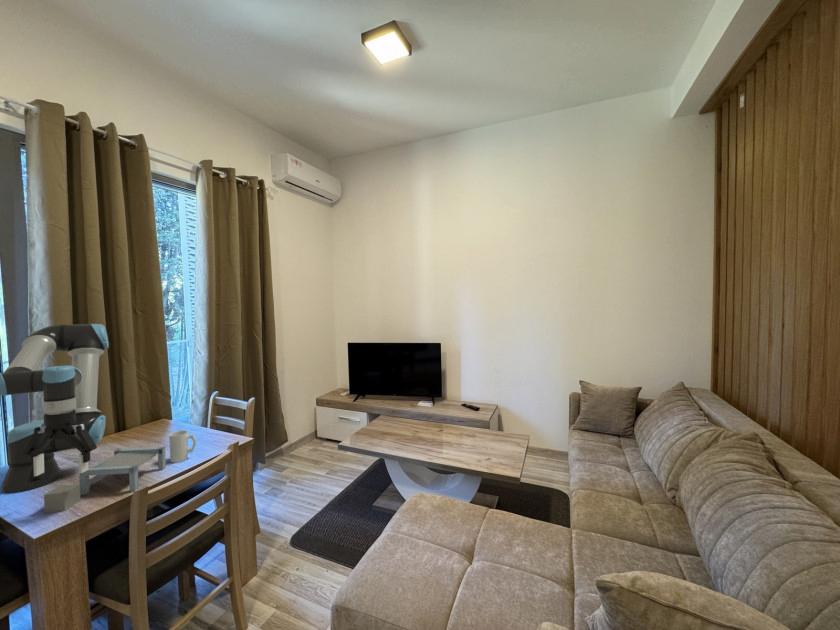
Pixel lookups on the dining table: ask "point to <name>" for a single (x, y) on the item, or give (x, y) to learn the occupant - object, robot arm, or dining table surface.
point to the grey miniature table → (120, 469)
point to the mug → (180, 445)
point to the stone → (62, 498)
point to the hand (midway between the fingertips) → (61, 473)
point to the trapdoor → (126, 459)
